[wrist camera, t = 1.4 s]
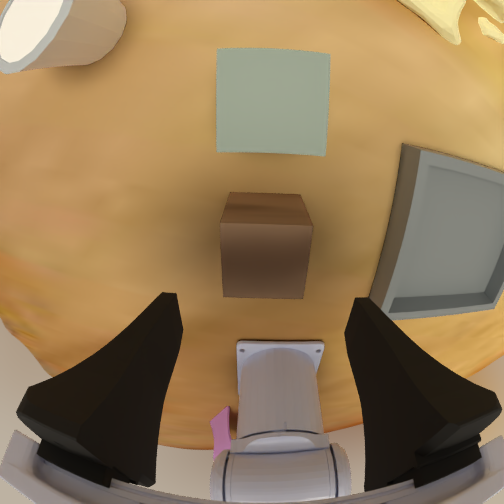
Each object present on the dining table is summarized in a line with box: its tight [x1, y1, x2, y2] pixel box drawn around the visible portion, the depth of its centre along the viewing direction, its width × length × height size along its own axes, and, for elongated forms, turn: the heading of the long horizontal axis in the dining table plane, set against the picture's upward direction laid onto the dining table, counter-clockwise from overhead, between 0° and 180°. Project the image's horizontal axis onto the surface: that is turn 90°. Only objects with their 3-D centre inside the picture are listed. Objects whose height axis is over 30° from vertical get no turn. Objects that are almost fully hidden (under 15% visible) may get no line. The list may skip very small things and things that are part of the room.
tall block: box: [216, 48, 330, 156], centre depth 12 cm, size 4×4×7 cm
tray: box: [369, 143, 504, 320], centre depth 17 cm, size 13×15×2 cm
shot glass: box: [0, 0, 127, 74], centre depth 8 cm, size 7×7×7 cm
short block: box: [220, 192, 313, 299], centre depth 17 cm, size 4×4×5 cm
